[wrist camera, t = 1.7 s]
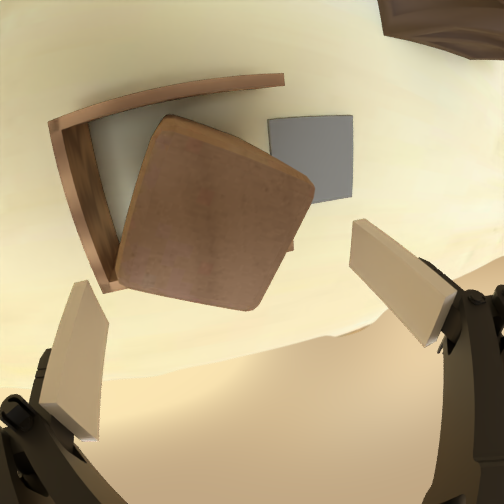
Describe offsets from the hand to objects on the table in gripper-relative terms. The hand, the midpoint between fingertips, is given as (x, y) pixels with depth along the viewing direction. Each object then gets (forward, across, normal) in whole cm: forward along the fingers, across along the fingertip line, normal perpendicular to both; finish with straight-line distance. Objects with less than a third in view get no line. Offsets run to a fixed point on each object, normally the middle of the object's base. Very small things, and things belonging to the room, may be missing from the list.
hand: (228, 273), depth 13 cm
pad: (+23, +16, -2) cm, 28 cm away
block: (+23, 0, 0) cm, 23 cm away
